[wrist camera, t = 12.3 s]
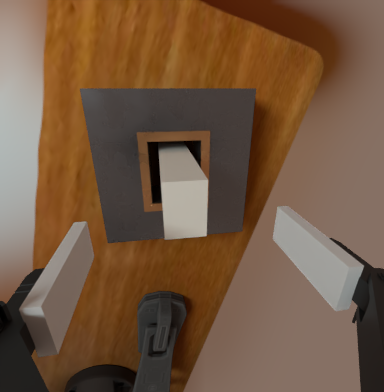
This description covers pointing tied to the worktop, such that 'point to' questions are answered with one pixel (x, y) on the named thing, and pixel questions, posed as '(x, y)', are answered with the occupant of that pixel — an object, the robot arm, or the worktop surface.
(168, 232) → the white rectangular bar
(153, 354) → the zipper slider
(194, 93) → the block
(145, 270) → the worktop surface
